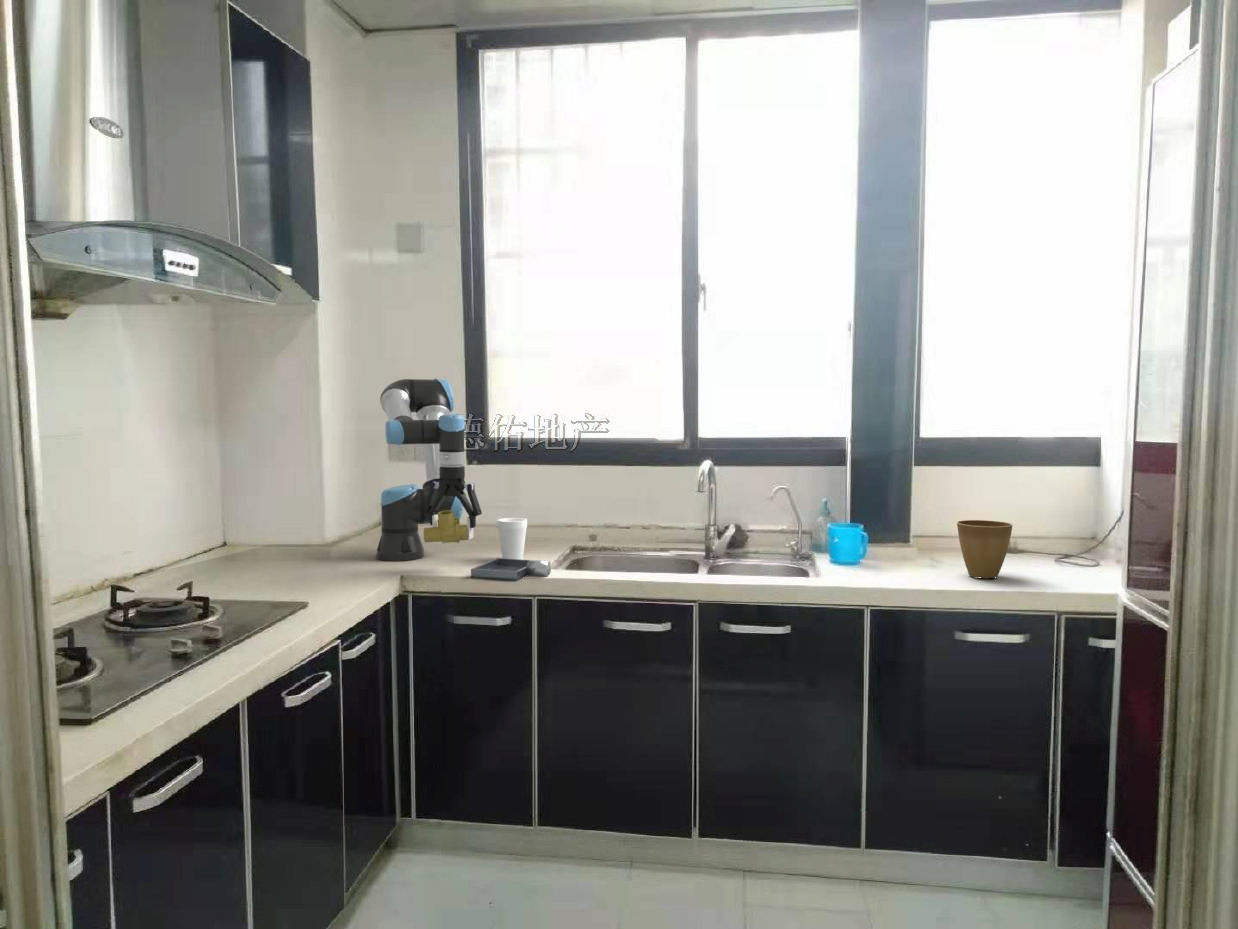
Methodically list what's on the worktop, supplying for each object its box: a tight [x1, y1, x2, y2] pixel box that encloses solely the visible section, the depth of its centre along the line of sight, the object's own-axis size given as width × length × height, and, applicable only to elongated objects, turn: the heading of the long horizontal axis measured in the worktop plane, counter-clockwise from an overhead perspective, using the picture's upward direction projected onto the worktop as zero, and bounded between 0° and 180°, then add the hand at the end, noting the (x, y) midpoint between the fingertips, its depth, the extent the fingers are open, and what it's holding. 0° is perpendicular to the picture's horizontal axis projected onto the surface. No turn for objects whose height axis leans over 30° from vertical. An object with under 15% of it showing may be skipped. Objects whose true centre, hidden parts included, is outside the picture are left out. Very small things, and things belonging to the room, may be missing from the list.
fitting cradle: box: [470, 557, 552, 582], centre depth 248 cm, size 21×18×4 cm
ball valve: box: [423, 510, 469, 544], centre depth 253 cm, size 13×10×10 cm
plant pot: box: [956, 519, 1014, 578], centre depth 244 cm, size 15×15×16 cm
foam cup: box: [496, 517, 528, 560], centre depth 270 cm, size 10×9×13 cm
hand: (452, 537), depth 255 cm, fingers closed on ball valve, 11 cm apart
